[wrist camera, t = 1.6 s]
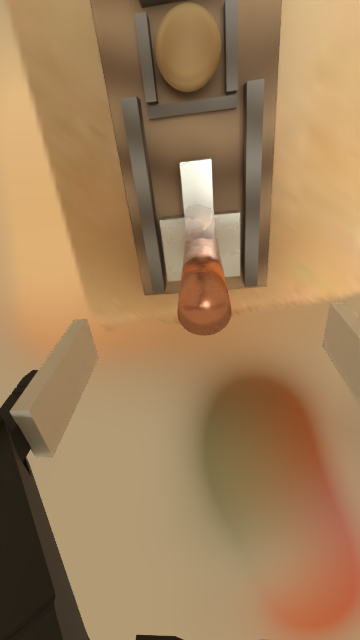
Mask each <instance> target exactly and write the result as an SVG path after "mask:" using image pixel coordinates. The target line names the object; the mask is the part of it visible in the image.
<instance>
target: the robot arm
mask: <svg viewBox="0 0 360 640" xmlns="http://www.w3.org/2000/svg"><path fill="white" fill-rule="evenodd" d="M323 348H324V349H325V351H326V352H327V354H328V356H329V357H330V359H331V361H332V362H333V364H334V365H335V367H336V369H337V370H338V372H339V373H340V375H341V377H342V378H343V380H344V381H345V383H346V385H347V386H348V388H349V389H350V391H351V392H352V394H353V396H354V397H355V399H356V401H357V402H358V404H359V406H360V317H359V316H358V315H357V314H356V313H355V312H354V311H353V310H352V308H350V306H349V305H348V304H347V303H346V302H339V303H330V306H329V312H328V318H327V324H326V329H325V335H324V340H323ZM98 358H99V357H98V354H97V351H96V347H95V344H94V341H93V338H92V334H91V331H90V328H89V325H88V321H87V319H82V320H73V322H72V323H71V325H70V326H69V328H68V329H67V330H66V332H65V333H64V335H63V336H62V338H61V339H60V341H59V342H58V343H57V345H56V346H55V347H54V349H53V351H52V352H51V353H50V355H49V356H48V357H47V359H46V360H45V362H44V363H43V365H42V366H41V367H40V369H39V370H32V371H31V372H30V373H28V374H27V375H26V376H25V377H23V378H22V380H21V381H20V382H19V384H18V385H17V388H15V389H14V391H13V392H12V394H11V395H10V396H9V397H8V399H7V400H6V401H5V403H4V404H3V405H2V407H1V408H0V640H90V639H89V637H88V635H87V632H86V630H85V627H84V624H83V621H82V618H81V615H80V612H79V609H78V606H77V603H76V600H75V597H74V595H73V592H72V589H71V586H70V583H69V580H68V577H67V574H66V571H65V568H64V565H63V562H62V559H61V556H60V553H59V550H58V547H57V544H56V541H55V538H54V536H53V532H52V530H51V527H50V524H49V521H48V518H47V515H46V512H45V509H44V506H43V503H42V500H41V497H40V494H39V491H38V488H37V485H36V482H35V479H34V476H33V473H32V470H31V468H30V465H29V462H28V460H27V458H26V456H27V454H28V452H29V451H30V449H31V450H32V452H33V454H34V456H35V457H36V458H38V457H53V456H54V454H55V452H56V450H57V447H58V445H59V443H60V441H61V439H62V437H63V434H64V432H65V430H66V428H67V426H68V424H69V421H70V419H71V417H72V415H73V413H74V411H75V408H76V406H77V404H78V402H79V400H80V398H81V395H82V393H83V391H84V389H85V387H86V384H87V382H88V380H89V378H90V376H91V373H92V371H93V369H94V367H95V365H96V362H97V361H98ZM136 640H183V639H180V638H178V637H176V636H155V635H136Z"/></svg>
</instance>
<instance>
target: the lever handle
mask: <svg viewBox="0 0 360 640" xmlns="http://www.w3.org/2000/svg"><path fill="white" fill-rule="evenodd" d="M180 172H181V183H182V194H183V204H184V215H180V216H170V217H161V218H160V220H159V221H160V228H161V235H162V243H163V250H164V257H165V265H166V272H167V279H168V281H180V280H181V285H180V294H179V303H178V319H179V321H180V323H181V325H182V326H183V327H184V328H185V329H187V330H188V331H189V332H191V333H194V334H197V335H211V334H215V333H217V332H219V331H221V330H222V329H223V328H224V327H225V326H226V325H227V324H228V322H229V320H230V318H231V305H230V300H229V295H228V290H227V286H226V281H225V277H232V276H240V211H239V210H231V211H221V212H214V210H213V187H212V164H211V158H203V159H195V160H186V161H180Z"/></svg>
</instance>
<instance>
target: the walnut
mask: <svg viewBox="0 0 360 640" xmlns="http://www.w3.org/2000/svg"><path fill="white" fill-rule="evenodd" d="M155 54H156V60H157V64H158V67H159V70H160V72H161V74H162V76H163V77H164V79H165V80H166V81H167V83H168V84H170V85H171V86H172V87H173V88H175V89H177V90H179V91H183V92H192V91H196V90H198V89H200V88H202V87H203V86H205V85H206V84H207V83H208V82H209V81H210V79H211V78H212V77H213V75H214V73H215V71H216V69H217V67H218V64H219V60H220V54H221V38H220V33H219V29H218V26H217V24H216V22H215V20H214V18H213V17H212V15H211V14H210V13H209V12H208V11H207V10H206V9H205V8H204V7H202V6H201V5H199V4H196V3H190V2H188V3H182V4H179V5H177V6H175V7H174V8H172V9H171V10H170V11H169V12H168V13H167V14H166V15H165V17H164V18H163V20H162V22H161V24H160V26H159V29H158V32H157V36H156V42H155Z"/></svg>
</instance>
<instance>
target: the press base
mask: <svg viewBox="0 0 360 640" xmlns="http://www.w3.org/2000/svg"><path fill="white" fill-rule="evenodd" d="M90 2H91V8H92V13H93V19H94V24H95V29H96V35H97V40H98V46H99V51H100V56H101V62H102V67H103V73H104V78H105V83H106V89H107V94H108V100H109V105H110V110H111V116H112V121H113V127H114V132H115V137H116V143H117V148H118V154H119V159H120V164H121V170H122V175H123V181H124V186H125V191H126V197H127V202H128V208H129V213H130V218H131V224H132V229H133V235H134V240H135V245H136V251H137V256H138V262H139V267H140V272H141V278H142V283H143V289H144V294H145V295H157V294H171V293H180V285H181V280H180V281H168V279H167V272H166V265H165V257H164V250H163V243H162V235H161V228H160V221H159V220H160V218H161V217H170V216H180V215H184V204H183V194H182V183H181V172H180V161H186V160H195V159H203V158H211V164H212V187H213V210H214V212H221V211H231V210H239V211H240V276H232V277H225V281H226V286H227V289H240V288H254V287H267V269H268V250H269V232H270V213H271V194H272V175H273V156H274V137H275V118H276V100H277V81H278V62H279V43H280V24H281V5H282V0H90ZM188 2H190V3H196V4H199V5H201V6H202V7H204V8H205V9H206V10H207V11H208V12H209V13H210V14H211V15H212V17H213V18H214V20H215V22H216V24H217V26H218V29H219V33H220V38H221V54H220V60H219V64H218V67H217V69H216V71H215V73H214V75H213V77H212V78H211V79H210V81H209V82H208V83H207V84H206V85H205V86H203V87H202V88H200V89H198V90H196V91H192V92H183V91H179V90H177V89H175V88H173V87H172V86H171V85H170V84H168V83H167V81H166V80H165V79H164V77H163V76H162V74H161V72H160V70H159V67H158V64H157V60H156V54H155V42H156V36H157V32H158V29H159V26H160V24H161V22H162V20H163V18H164V17H165V15H166V14H167V13H168V12H169V11H170V10H171V9H172V8H174V7H175V6H177V5H179V4H182V3H188Z"/></svg>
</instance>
